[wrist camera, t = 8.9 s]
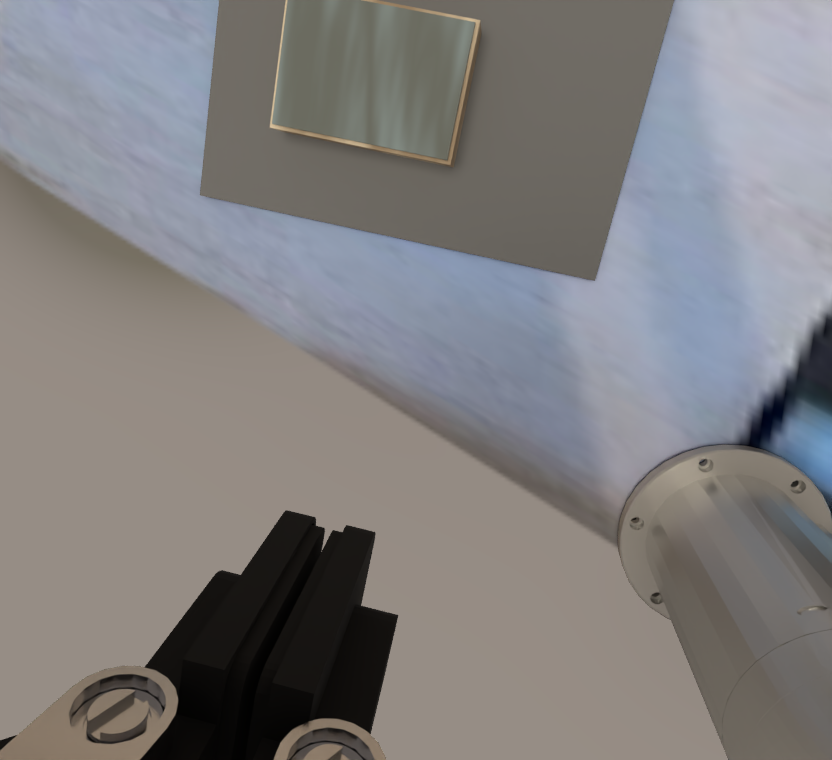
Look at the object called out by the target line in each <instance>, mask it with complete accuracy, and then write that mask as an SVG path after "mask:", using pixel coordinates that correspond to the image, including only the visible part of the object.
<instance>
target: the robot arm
mask: <svg viewBox="0 0 832 760" xmlns="http://www.w3.org/2000/svg"><path fill="white" fill-rule="evenodd" d="M703 459H705V461H704V462H703V463H699V462H700V461H701V460H703ZM794 481H795V482H794ZM792 482H794V483H793V484H792ZM635 517H638V518H637V519H636V520H631V519H633V518H635ZM324 532H325V529H324V528H322V527H318V526H316V519H315V517H312V516H307V515H303V514H299V513H295V512H291V511H285V512H284V513H283V515H282V516H281V517H280V519H279V520H278V522H277V523H276V525H275V526H274V528H273V529H272V530H271V532H270V533H269V535H268V536H267V538H266V539H265V541H264V542H263V544H262V545H261V546H260V548H259V549H258V551H257V552H256V554H255V555H254V557H253V558H252V560H251V561H250V562H249V564H248V565H247V567H246V568H245V570H244V571H243V573H242V574H241V575H238V574H234V573H230V572H226V571H223V570H222V571H219V572H217V573H216V574H215V576H214V577H213V578H212V579H211V581H210V582H209V583H208V585H207V586H206V587H205V589H204V590H203V591H202V593H201V594H200V595H199V596H198V598H197V599H196V600H195V602H194V603H193V604H192V606H191V607H190V608H189V610H188V611H187V612H186V614H185V615H184V616H183V618H182V619H181V620H180V621H179V623H178V624H177V625H176V627H175V628H174V629H173V631H172V632H171V633H170V635H169V636H168V637H167V639H166V640H165V641H164V643H163V644H162V645H161V646H160V648H159V649H158V651H157V652H156V653H155V654H154V656H153V657H152V659H151V660H150V661H149V662H148V664H147V665H146V666H145V667H141V666H120V667H114V668H109V669H104V670H102V671H99V672H97V673H94V674H92V675H90V676H87V677H86V678H84V679H83V680H81V681H80V682H78V683H77V684H75V685H74V686H73V687H71V688H70V689H69V690H68V691H67V692H66V693H65V694H63V695H62V696H61V697H60V698H59V699H58V700H57V701H56V702H54V703H53V704H52V705H51V706H50V707H49V708H48V709H46V710H45V711H44V712H43V713H42V714H41V715H40V716H39V717H37V718H36V719H35V720H34V721H33V722H32V723H31V724H30V725H28V726H27V727H26V728H25V729H24V730H23V731H22V732H20V733H19V734H18V735H16V736H13V737H9V738H7V739H4V740H0V760H386V757H385V755H384V753H383V751H382V749H381V747H380V745H379V743H378V742H377V741H376V740H375V739H374V738H373V737H372V736H371V735H370V734H371V730H372V726H373V721H374V717H375V713H376V709H377V705H378V701H379V696H380V692H381V688H382V684H383V680H384V675H385V671H386V667H387V662H388V658H389V654H390V649H391V645H392V640H393V636H394V632H395V627H396V623H397V618H398V615H395V614H391V613H387V612H383V611H379V610H376V609H372V608H368V607H363V606H361V603H362V597H363V593H364V588H365V584H366V578H367V574H368V569H369V564H370V559H371V554H372V549H373V545H374V540H375V532H372V531H368V530H364V529H360V528H356V527H352V526H347V525H346V527H345V528H344V531H343V532H338V531H334V530H333V531H332V533H331V534H330V536H329V539H328V540H327V542H326V545H325V546H324V548H323V550H322V545H323V539H324ZM321 550H322V552H321ZM618 551H619V555H620V558H621V562H622V566H623V568H624V571H625V573H626V576H627V578H628V580H629V582H630V584H631V585H632V587H633V588H634V590H635V591H636V593H637V594H638V596H639V597H640V598H641V599H642V600H643V601H644V602H645V603H646V604H647V605H648V606H650V607H651V608H652V609H654V610H655V611H657V612H658V613H660V614H661V615H663V616H664V617H666V618H668V619H670V620H671V621H672V623H673V626H674V628H675V631H676V633H677V636H678V638H679V641H680V643H681V645H682V648H683V650H684V653H685V655H686V658H687V660H688V662H689V665H690V667H691V670H692V672H693V675H694V677H695V679H696V682H697V684H698V687H699V689H700V691H701V694H702V696H703V699H704V701H705V704H706V706H707V709H708V711H709V713H710V716H711V718H712V721H713V723H714V726H715V728H716V730H717V733H718V735H719V738H720V740H721V743H722V745H723V748H724V750H725V752H726V755H727V757H728V760H832V517H831V512H830V510H829V508H828V505H827V503H826V501H825V499H824V497H823V495H822V494H821V492H820V491H819V490H818V488H817V487H816V486H815V484H814V483H813V482H812V481H811V480H810V479H809V478H808V477H807V476H806V475H805V474H804V473H803V472H802V471H800V470H799V469H798V468H797V467H795V466H794V465H792V464H791V463H789V462H788V461H787V460H785V459H784V458H782V457H779V456H777V455H775V454H772V453H770V452H768V451H766V450H762V449H758V448H753V447H749V446H744V445H725V444H724V445H715V446H707V447H701V448H698V449H694V450H691V451H688V452H684V453H682V454H680V455H678V456H676V457H674V458H672V459H669V460H667V461H665V462H664V463H663V464H661V465H660V466H658V467H657V468H656V469H654V470H653V471H652V472H650V473H649V474H648V475H647V476H646V477H645V478H644V479H643V480H642V481H641V482H640V483H639V484H638V485H637V487H636V488H635V490H634V491H633V493H632V494H631V496H630V497H629V499H628V500H627V502H626V505H625V507H624V510H623V512H622V515H621V517H620V523H619V529H618Z"/></svg>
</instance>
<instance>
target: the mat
mask: <svg viewBox="0 0 832 760" xmlns="http://www.w3.org/2000/svg"><path fill="white" fill-rule="evenodd" d="M379 1H384V2H389V3H394V4H399V5H405V6H410V7H415V8H420V9H425V10H430V11H436V12H441V13H446V14H451V15H456V16H462V17H467V18H472V19H477V20H480V22H481V32H482V33H481V38H480V43H479V48H478V52H477V57H476V62H475V67H474V72H473V76H472V81H471V86H470V91H469V96H468V101H467V105H466V110H465V115H464V120H463V125H462V129H461V134H460V139H459V144H458V149H457V153H456V158H455V163H454V167H449V166H444V165H439V164H435V163H430V162H425V161H420V160H415V159H411V158H406V157H401V156H396V155H391V154H387V153H382V152H377V151H372V150H367V149H363V148H358V147H353V146H348V145H343V144H339V143H334V142H329V141H324V140H319V139H315V138H310V137H305V136H300V135H296V134H291V133H286V132H282V131H279V130H276V129H273V128H270V121H271V113H272V105H273V97H274V89H275V81H276V73H277V65H278V58H279V50H280V42H281V34H282V26H283V18H284V10H285V2H286V0H219V8H218V18H217V28H216V38H215V48H214V58H213V69H212V79H211V89H210V99H209V109H208V119H207V129H206V139H205V149H204V159H203V170H202V180H201V190H200V195H202V196H206V197H211V198H216V199H220V200H225V201H229V202H234V203H239V204H243V205H248V206H253V207H257V208H262V209H266V210H271V211H276V212H280V213H285V214H289V215H294V216H299V217H303V218H308V219H312V220H317V221H322V222H326V223H331V224H336V225H340V226H345V227H349V228H354V229H359V230H363V231H368V232H372V233H377V234H382V235H386V236H391V237H396V238H400V239H405V240H409V241H414V242H419V243H423V244H428V245H432V246H437V247H442V248H446V249H451V250H456V251H460V252H465V253H469V254H474V255H479V256H483V257H488V258H492V259H497V260H502V261H506V262H511V263H515V264H520V265H525V266H529V267H534V268H539V269H543V270H548V271H552V272H557V273H562V274H566V275H571V276H575V277H580V278H585V279H589V280H594V281H595V278H596V274H597V271H598V267H599V264H600V260H601V257H602V253H603V250H604V246H605V243H606V239H607V236H608V232H609V228H610V225H611V221H612V218H613V214H614V211H615V207H616V204H617V200H618V197H619V193H620V190H621V186H622V183H623V179H624V175H625V172H626V168H627V165H628V161H629V158H630V154H631V151H632V147H633V144H634V140H635V137H636V133H637V129H638V126H639V122H640V119H641V115H642V112H643V108H644V105H645V101H646V98H647V94H648V91H649V87H650V84H651V80H652V76H653V73H654V69H655V66H656V62H657V59H658V55H659V52H660V48H661V45H662V41H663V38H664V34H665V30H666V27H667V23H668V20H669V16H670V13H671V9H672V6H673V2H674V0H379Z"/></svg>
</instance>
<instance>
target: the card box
mask: <svg viewBox="0 0 832 760" xmlns="http://www.w3.org/2000/svg"><path fill="white" fill-rule="evenodd" d="M481 33H482V32H481V22H480V20H477V19H472V18H467V17H462V16H456V15H451V14H446V13H441V12H436V11H430V10H425V9H420V8H415V7H410V6H405V5H399V4H394V3H389V2H384V1H379V0H286V2H285V10H284V18H283V26H282V34H281V42H280V50H279V58H278V65H277V73H276V81H275V89H274V97H273V105H272V113H271V121H270V128H273V129H276V130H279V131H282V132H286V133H291V134H296V135H300V136H305V137H310V138H315V139H319V140H324V141H329V142H334V143H339V144H343V145H348V146H353V147H358V148H363V149H367V150H372V151H377V152H382V153H387V154H391V155H396V156H401V157H406V158H411V159H415V160H420V161H425V162H430V163H435V164H439V165H444V166H449V167H454V163H455V158H456V153H457V149H458V144H459V139H460V134H461V129H462V125H463V120H464V115H465V110H466V105H467V101H468V96H469V91H470V86H471V81H472V76H473V72H474V67H475V62H476V57H477V52H478V48H479V43H480V38H481Z"/></svg>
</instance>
